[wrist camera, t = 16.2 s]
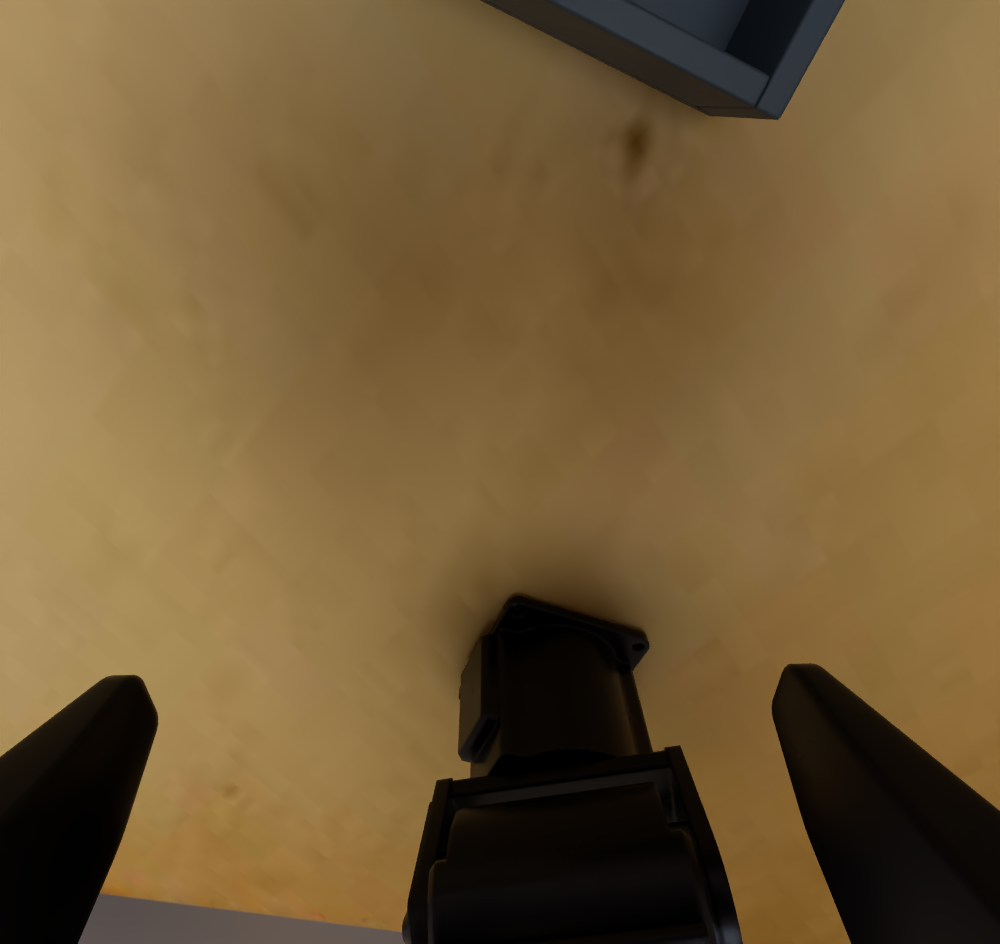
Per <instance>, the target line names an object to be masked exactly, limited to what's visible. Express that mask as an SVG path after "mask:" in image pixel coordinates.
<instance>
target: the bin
mask: <svg viewBox="0 0 1000 944" xmlns="http://www.w3.org/2000/svg"><path fill="white" fill-rule="evenodd" d="M481 1H483V2H485V3H487V4H489V5H491V6H493V7H495V8H497V9H499V10H501V11H503V12H505V13H507V14H509V15H511V16H513V17H515V18H517V19H519V20H521V21H523V22H525V23H526V24H528V25H530V26H532V27H534V28H536V29H538V30H540V31H542V32H544V33H546V34H548V35H550V36H552V37H554V38H556V39H558V40H560V41H562V42H564V43H566V44H568V45H570V46H572V47H574V48H576V49H578V50H580V51H582V52H584V53H586V54H588V55H590V56H592V57H594V58H596V59H598V60H600V61H602V62H604V63H606V64H608V65H610V66H612V67H614V68H616V69H618V70H620V71H622V72H624V73H626V74H628V75H629V76H631V77H633V78H635V79H637V80H639V81H641V82H643V83H645V84H647V85H649V86H651V87H653V88H655V89H657V90H659V91H661V92H663V93H665V94H667V95H669V96H671V97H673V98H675V99H677V100H679V101H681V102H683V103H685V104H687V105H689V106H691V107H693V108H695V109H697V110H699V111H701V112H703V113H705V114H707V115H709V116H722V117H739V118H756V119H773V120H778V119H779V118H780V117H781V115H782V114H783V112H784V110H785V108H786V106H787V105H788V103H789V101H790V99H791V97H792V95H793V94H794V92H795V90H796V88H797V86H798V85H799V83H800V81H801V79H802V77H803V76H804V74H805V72H806V70H807V68H808V66H809V65H810V63H811V61H812V59H813V57H814V56H815V54H816V52H817V50H818V48H819V46H820V45H821V43H822V41H823V39H824V37H825V36H826V34H827V32H828V30H829V28H830V27H831V25H832V23H833V21H834V19H835V17H836V16H837V14H838V12H839V10H840V8H841V7H842V5H843V3H844V1H845V0H481Z"/></svg>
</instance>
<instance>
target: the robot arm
mask: <svg viewBox="0 0 1000 944" xmlns="http://www.w3.org/2000/svg"><path fill="white" fill-rule="evenodd" d="M515 608H521V610H514V609H515ZM634 643H638V644H634ZM649 647H650V646H649V641H648V638H647V636H646V634H645V633H643V632H640V631H637V630H633V629H630V628H626V627H623V626H620V625H616V624H613V623H609V622H606V621H602V620H599V619H596V618H592V617H589V616H585V615H582V614H578V613H575V612H572V611H568V610H565V609H561V608H558V607H554V606H551V605H548V604H544V603H541V602H537V601H534V600H530V599H527V598H524V597H518V596H517V597H512V598H510V599H509V600H508V601H507V602H506V604H505V605H504V607H503V609H502V611H501V613H500V615H499V616H498V618H497V620H496V622H495V624H494V626H493V628H492V629H491V631H490V633H489V634H485V635H483V636H482V637H481V638H480V640H479V642H478V644H477V645H476V647H475V649H474V651H473V653H472V655H471V657H470V658H469V660H468V662H467V664H466V666H465V668H464V670H463V672H462V674H461V686H460V689H459V699H460V718H459V741H458V754H459V756H460V758H461V760H462V761H467V762H471V769H470V778H468V779H461V780H454V781H453V779H452V778H449V779H442V780H437V781H436V786H435V790H434V795H433V799H432V802H430V804H429V808H428V813H427V817H426V821H425V826H424V830H423V835H422V839H421V844H420V848H419V853H418V857H417V862H416V866H415V871H414V875H413V880H412V884H411V889H410V893H409V898H408V906H407V912H406V915H405V917H404V920H403V925H402V935H403V940H404V942H405V943H406V944H743V942H742V937H741V932H740V927H739V923H738V918H737V914H736V910H735V906H734V902H733V898H732V894H731V890H730V886H729V883H728V879H727V875H726V872H725V868H724V865H723V862H722V859H721V855H720V852H719V849H718V846H717V843H716V840H715V838H714V835H713V832H712V829H711V827H710V824H709V821H708V819H707V816H706V813H705V811H704V808H703V805H702V803H701V800H700V797H699V795H698V792H697V789H696V787H695V784H694V781H693V779H692V776H691V773H690V770H689V768H688V765H687V762H686V760H685V757H684V754H683V752H682V749H681V746H680V745H679V746H672V747H665V750H664V751H657V752H653V750H652V746H651V742H650V738H649V735H648V731H647V727H646V723H645V719H644V715H643V711H642V707H641V703H640V700H639V696H638V692H637V688H636V684H635V680H634V676H633V672H632V671H633V670H634V668H635V667H636V666H637V664H638V663H639V662H640V660H641V659H642V657H643V656H644V655H645V653H646V652H647V651H648V649H649ZM772 716H773V720H774V724H775V727H776V731H777V734H778V737H779V741H780V744H781V748H782V751H783V755H784V758H785V761H786V765H787V768H788V772H789V775H790V779H791V782H792V786H793V789H794V792H795V796H796V799H797V803H798V806H799V810H800V813H801V816H802V819H803V822H804V825H805V829H806V831H807V834H808V836H809V839H810V842H811V844H812V847H813V850H814V852H815V855H816V857H817V860H818V862H819V865H820V867H821V869H822V872H823V874H824V877H825V879H826V882H827V884H828V887H829V889H830V892H831V894H832V897H833V899H834V902H835V904H836V907H837V909H838V912H839V914H840V917H841V919H842V922H843V924H844V927H845V929H846V932H847V934H848V936H849V939H850V941H851V944H1000V811H999V810H998V809H997V808H996V807H994V806H993V805H992V804H991V803H989V802H988V801H987V800H986V799H984V798H983V797H982V796H981V795H979V794H978V793H977V792H976V791H975V790H973V789H972V788H971V787H970V786H968V785H967V784H966V783H965V782H963V781H962V780H961V779H960V778H958V777H957V776H956V775H955V774H953V773H952V772H951V771H950V770H949V769H947V768H946V767H945V766H944V765H942V764H941V763H940V762H939V761H937V760H936V759H935V758H934V757H932V756H931V755H930V754H929V753H927V752H926V751H925V750H924V749H922V748H921V747H920V746H919V745H918V744H916V743H915V742H914V741H913V740H911V739H910V738H909V737H908V736H906V735H905V734H904V733H903V732H901V731H900V730H899V729H898V728H896V727H895V726H894V725H893V724H892V723H890V722H889V721H888V720H887V719H885V718H884V717H883V716H882V715H880V714H879V713H878V712H877V711H875V710H874V709H873V708H872V707H870V706H869V705H868V704H867V703H866V702H864V701H863V700H862V699H861V698H859V697H858V696H857V695H856V694H854V693H853V692H852V691H851V690H849V689H848V688H847V687H846V686H844V685H843V684H842V683H841V682H840V681H838V680H837V679H836V678H835V677H833V676H832V675H831V674H830V673H828V672H827V671H826V670H825V669H823V668H822V667H820V666H818V665H816V664H811V663H809V664H788V665H787V666H786V667H785V668H784V670H783V672H782V675H781V678H780V680H779V683H778V686H777V689H776V692H775V695H774V698H773V701H772ZM157 726H158V714H157V711H156V708H155V706H154V704H153V702H152V699H151V697H150V695H149V693H148V690H147V688H146V686H145V684H144V681H143V680H142V679H141V678H140V677H139V676H136V675H113V676H108V677H106V678H104V679H102V680H100V681H99V682H98V683H96V684H95V685H94V686H92V687H91V688H90V689H88V690H87V691H86V692H85V693H83V694H82V695H81V696H79V697H78V698H77V699H75V700H74V701H73V702H71V703H70V704H69V705H68V706H66V707H65V708H64V709H62V710H61V711H60V712H58V713H57V714H56V715H54V716H53V717H52V718H51V719H49V720H48V721H47V722H45V723H44V724H43V725H41V726H40V727H39V728H37V729H36V730H35V731H34V732H32V733H31V734H30V735H28V736H27V737H26V738H24V739H23V740H22V741H20V742H19V743H18V744H17V745H15V746H14V747H13V748H11V749H10V750H9V751H7V752H6V753H5V754H3V755H2V756H1V757H0V944H78V942H79V939H80V937H81V935H82V932H83V930H84V928H85V925H86V923H87V921H88V918H89V916H90V914H91V911H92V909H93V906H94V904H95V902H96V900H97V897H98V895H99V893H100V890H101V888H102V886H103V883H104V881H105V879H106V876H107V874H108V872H109V869H110V867H111V865H112V862H113V860H114V857H115V855H116V852H117V850H118V848H119V845H120V842H121V840H122V837H123V834H124V831H125V828H126V825H127V822H128V819H129V816H130V813H131V810H132V807H133V803H134V800H135V797H136V794H137V791H138V788H139V785H140V781H141V778H142V775H143V772H144V769H145V766H146V763H147V759H148V756H149V753H150V750H151V747H152V744H153V741H154V737H155V734H156V731H157Z"/></svg>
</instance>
